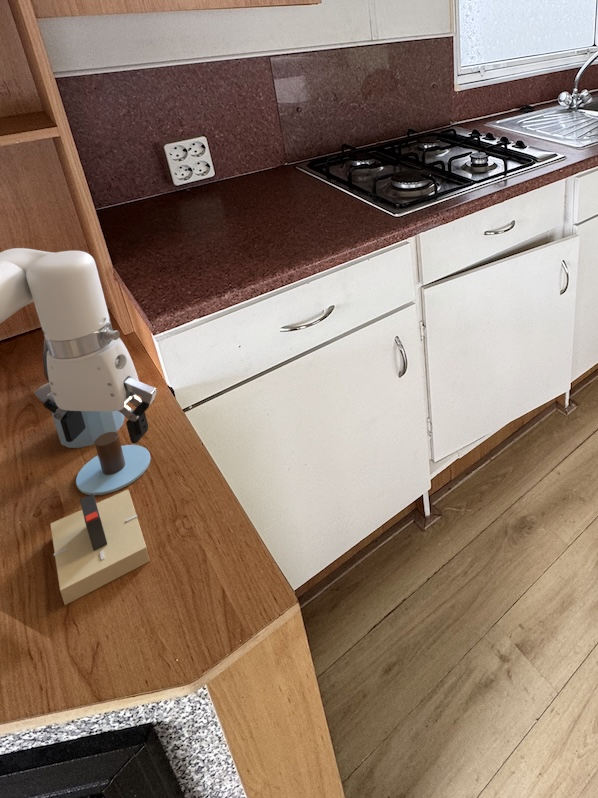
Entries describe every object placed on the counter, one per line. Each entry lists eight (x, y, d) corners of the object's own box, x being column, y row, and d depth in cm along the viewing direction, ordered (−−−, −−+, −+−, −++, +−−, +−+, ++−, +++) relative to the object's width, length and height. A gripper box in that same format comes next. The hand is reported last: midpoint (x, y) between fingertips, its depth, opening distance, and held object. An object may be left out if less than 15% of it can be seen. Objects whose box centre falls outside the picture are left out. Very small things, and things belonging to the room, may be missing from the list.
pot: (47, 441, 95) (34, 398, 92) (100, 407, 103) (90, 367, 100) (85, 456, 92) (73, 413, 89) (137, 420, 100) (127, 380, 97)
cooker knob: (87, 525, 77) (79, 497, 75) (100, 519, 78) (92, 491, 76) (93, 551, 73) (85, 523, 72) (107, 544, 74) (99, 516, 72)
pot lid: (62, 486, 86) (51, 451, 84) (122, 443, 95) (114, 410, 93) (107, 506, 83) (97, 470, 81) (165, 460, 92) (158, 426, 89)
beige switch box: (54, 540, 78) (49, 523, 77) (133, 504, 84) (128, 487, 82) (64, 608, 69) (58, 590, 68) (151, 563, 75) (147, 545, 74)
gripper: (157, 324, 84) (179, 420, 90) (41, 322, 85) (69, 417, 90) (124, 354, 77) (150, 456, 83) (-3, 352, 77) (32, 453, 83)
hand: (108, 436), depth 87 cm, fingers open, 9 cm apart
